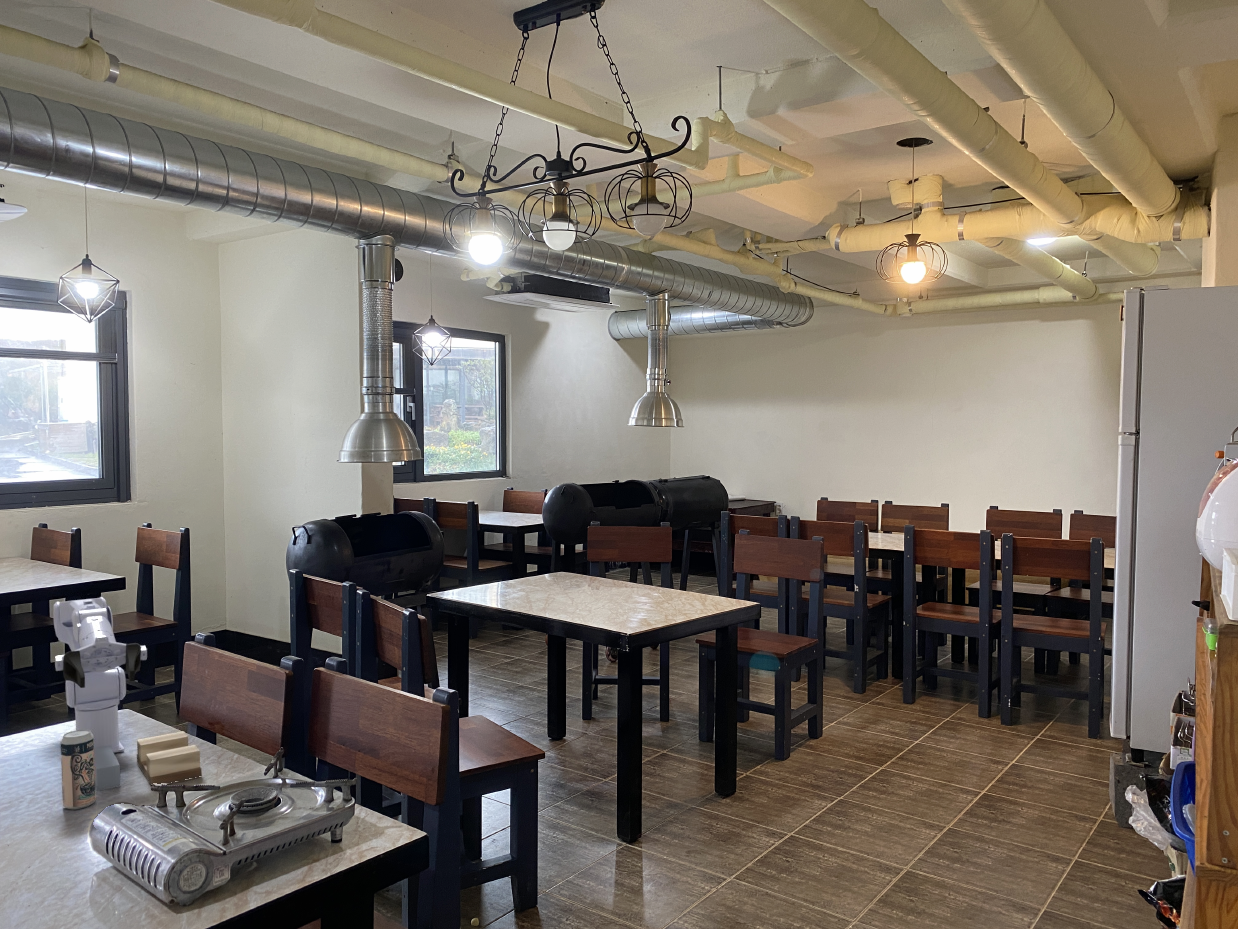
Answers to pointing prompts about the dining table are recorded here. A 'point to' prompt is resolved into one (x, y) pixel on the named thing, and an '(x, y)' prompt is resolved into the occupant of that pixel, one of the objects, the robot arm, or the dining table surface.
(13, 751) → the dining table surface
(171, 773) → the display stand
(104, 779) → the grey rectangular block
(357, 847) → the dining table surface
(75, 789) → the tea canister
